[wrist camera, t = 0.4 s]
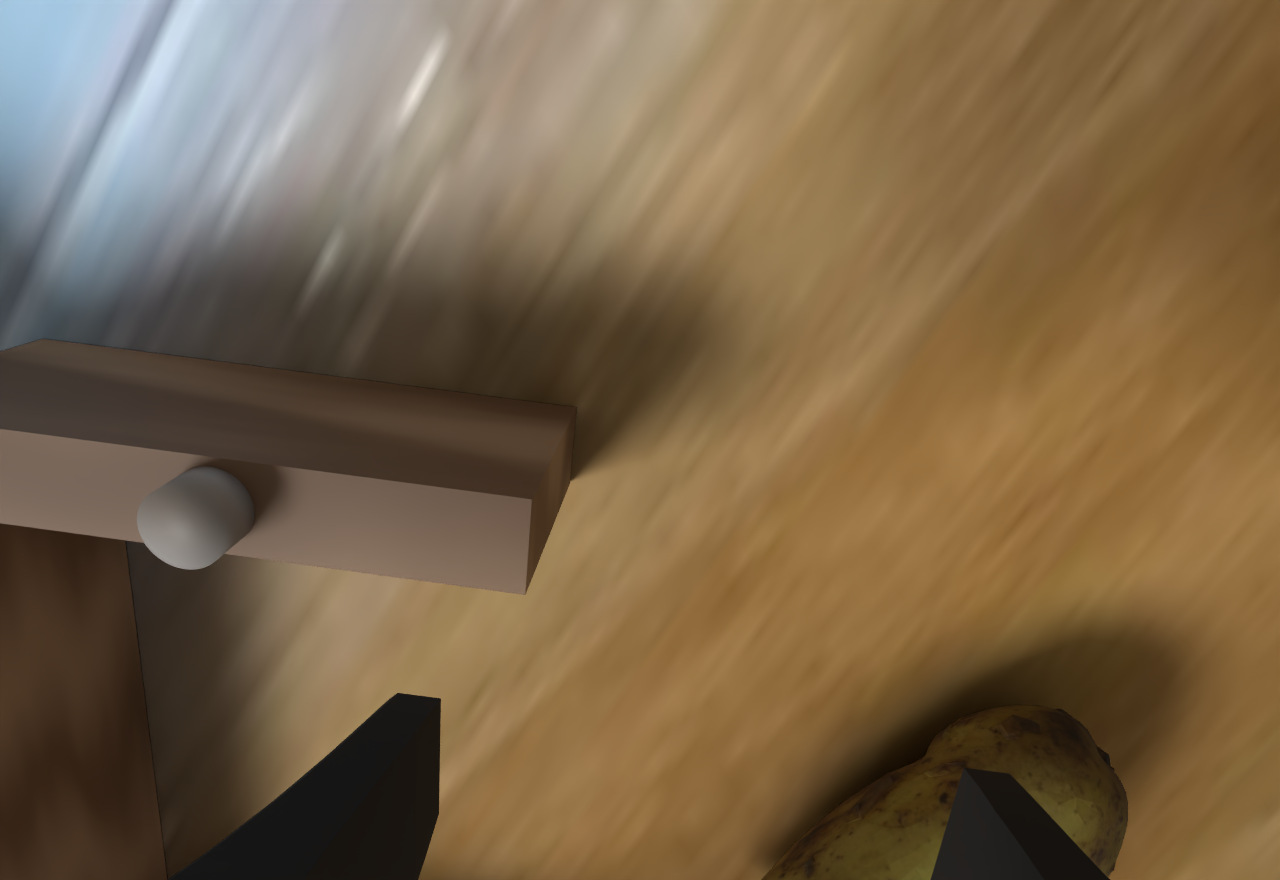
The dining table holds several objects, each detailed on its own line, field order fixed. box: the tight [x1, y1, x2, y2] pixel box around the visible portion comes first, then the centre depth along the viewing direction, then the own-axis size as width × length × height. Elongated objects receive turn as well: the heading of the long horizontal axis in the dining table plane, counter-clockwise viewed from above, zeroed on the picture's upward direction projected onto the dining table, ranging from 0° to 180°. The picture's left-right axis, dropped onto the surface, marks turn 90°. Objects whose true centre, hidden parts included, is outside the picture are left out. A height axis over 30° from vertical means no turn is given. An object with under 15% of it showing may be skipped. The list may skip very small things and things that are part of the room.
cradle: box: [0, 339, 577, 880], centre depth 21 cm, size 21×14×6 cm, turn 174°
